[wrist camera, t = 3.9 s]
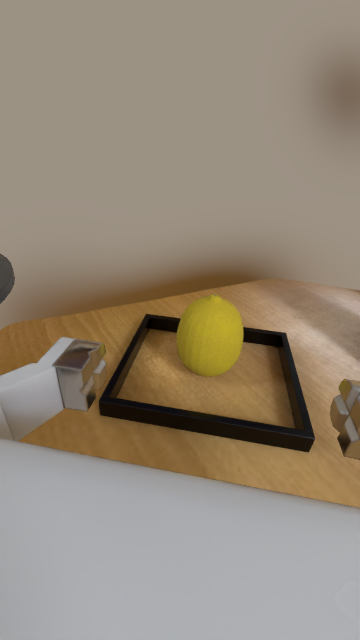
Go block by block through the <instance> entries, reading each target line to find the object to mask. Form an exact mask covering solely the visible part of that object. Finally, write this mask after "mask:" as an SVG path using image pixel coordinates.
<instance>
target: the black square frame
mask: <svg viewBox="0 0 360 640" xmlns="http://www.w3.org/2000/svg"><path fill="white" fill-rule="evenodd" d="M180 320H181V319H180V318H172V317H165V316H158V315H150V314H146V315H145V317H144V319H143V321H142V323H141V324H140V326H139V328H138V330H137V332H136V334H135V335H134V337H133V339H132V341H131V343H130V345H129V346H128V348H127V350H126V352H125V354H124V356H123V357H122V359H121V361H120V363H119V365H118V367H117V368H116V370H115V372H114V374H113V376H112V378H111V379H110V381H109V383H108V385H107V387H106V389H105V390H104V392H103V394H102V396H101V398H100V400H99V409H100V415H102V416H108V417H113V418H119V419H125V420H130V421H136V422H141V423H147V424H153V425H158V426H164V427H169V428H175V429H181V430H186V431H192V432H197V433H203V434H209V435H214V436H220V437H225V438H231V439H237V440H242V441H248V442H253V443H259V444H265V445H270V446H276V447H281V448H287V449H293V450H298V451H304V452H309V451H310V449H311V447H312V445H313V442H314V440H315V437H314V433H313V429H312V425H311V422H310V418H309V415H308V411H307V407H306V404H305V400H304V396H303V393H302V389H301V386H300V382H299V378H298V375H297V371H296V368H295V364H294V360H293V357H292V353H291V350H290V346H289V342H288V339H287V335H286V333H283V332H275V331H268V330H261V329H253V328H246V327H243V342H249V343H256V344H263V345H270V346H277V347H278V350H279V354H280V359H281V363H282V368H283V373H284V377H285V382H286V386H287V391H288V396H289V400H290V405H291V410H292V414H293V419H294V423H295V428H296V429H293V428H287V427H281V426H275V425H270V424H264V423H258V422H252V421H246V420H240V419H235V418H229V417H223V416H217V415H211V414H205V413H199V412H194V411H188V410H182V409H176V408H170V407H164V406H158V405H153V404H147V403H141V402H135V401H129V400H123V399H117V398H116V397H117V395H118V393H119V391H120V389H121V387H122V385H123V383H124V381H125V379H126V377H127V374H128V372H129V370H130V368H131V366H132V364H133V362H134V360H135V358H136V356H137V354H138V352H139V350H140V347H141V345H142V343H143V341H144V339H145V337H146V335H147V333H148V331H149V329H157V330H164V331H171V332H177V330H178V326H179V323H180Z"/></svg>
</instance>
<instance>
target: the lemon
mask: <svg viewBox="0 0 360 640" xmlns="http://www.w3.org/2000/svg"><path fill="white" fill-rule="evenodd" d="M176 340H177V349H178V354H179V356H180V358H181V360H182V362H183V364H184V365H185V366H186V367H187V368H188V369H189V370H190V371H192V372H193V373H195V374H197V375H200V376H205V377H213V376H218V375H220V374H223V373H225V372H226V371H228V370H229V369H230V368H231V367H232V366H233V365H234V363H235V362H236V361H237V359H238V357H239V355H240V352H241V349H242V344H243V324H242V320H241V316H240V314H239V312H238V311H237V309H236V308H235V307H234V306H233V305H232V304H231V303H230V302H229V301H227V300H225V299H223V298H220V296H219V295H217V294H212V295H210V296H206V297H202V298H199V299H197V300H196V301H194V302H192V303H191V304H190V305H189V306H188V307H187V308H186V309H185V311H184V313H183V315H182V317H181V320H180V323H179V326H178V330H177V338H176Z"/></svg>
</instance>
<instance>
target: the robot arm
mask: <svg viewBox="0 0 360 640" xmlns="http://www.w3.org/2000/svg"><path fill="white" fill-rule="evenodd" d="M105 353H106V351H105V345H104V344H103V343H98V342H93V341H87V340H81V339H74V338H68V337H62V338H60V339H59V340H58V341H57V342H56V343H55V344H54V345H53V346H52V347H51V348H50V349H49V350H48V351H47V352H46V354H45V355H44V356H43V357H42V358H41V359H40V360H39V361H38V362H37V363H36V364H35V363H31V364H28V365H26V366H23V367H21V368H18V369H16V370H13V371H11V372H8V373H6V374H3V375H1V376H0V640H360V508H359V507H354V506H349V505H343V504H338V503H333V502H328V501H323V500H318V499H312V498H307V497H302V496H297V495H292V494H287V493H281V492H276V491H271V490H266V489H261V488H256V487H250V486H245V485H240V484H235V483H230V482H225V481H219V480H214V479H209V478H204V477H199V476H194V475H189V474H183V473H178V472H173V471H168V470H163V469H158V468H152V467H147V466H142V465H137V464H132V463H127V462H121V461H116V460H111V459H106V458H101V457H96V456H90V455H85V454H80V453H75V452H70V451H65V450H59V449H54V448H49V447H44V446H39V445H34V444H28V443H23V442H18V441H19V440H20V439H22V438H23V437H25V436H26V435H28V434H29V433H31V432H32V431H33V430H35V429H36V428H38V427H39V426H41V425H42V424H44V423H45V422H46V421H48V420H49V419H51V418H52V417H54V416H55V415H57V414H58V413H59V412H61V411H62V410H64V408H67V409H74V410H81V411H87V412H88V410H89V408H90V407H91V405H92V403H93V401H94V400H95V398H96V394H95V391H97V390H99V389H100V388H101V387H102V386H103V384H104V382H105V378H106V375H107V363H106V361H105V360H104V359H103V356H104V355H105ZM339 391H340V393H341V394H340V395H338V396H336V397H335V398H334V399H333V401H332V404H331V410H330V416H331V421H332V424H333V427H334V428H335V429H336V430H337V431H339V432H340V434H339V436H338V438H337V439H338V441H339V444H340V447H341V450H342V452H343V455H344V457H348V458H353V459H358V460H360V381H355V380H348V379H344V380H343V381H342V382H341V384H340V386H339Z"/></svg>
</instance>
